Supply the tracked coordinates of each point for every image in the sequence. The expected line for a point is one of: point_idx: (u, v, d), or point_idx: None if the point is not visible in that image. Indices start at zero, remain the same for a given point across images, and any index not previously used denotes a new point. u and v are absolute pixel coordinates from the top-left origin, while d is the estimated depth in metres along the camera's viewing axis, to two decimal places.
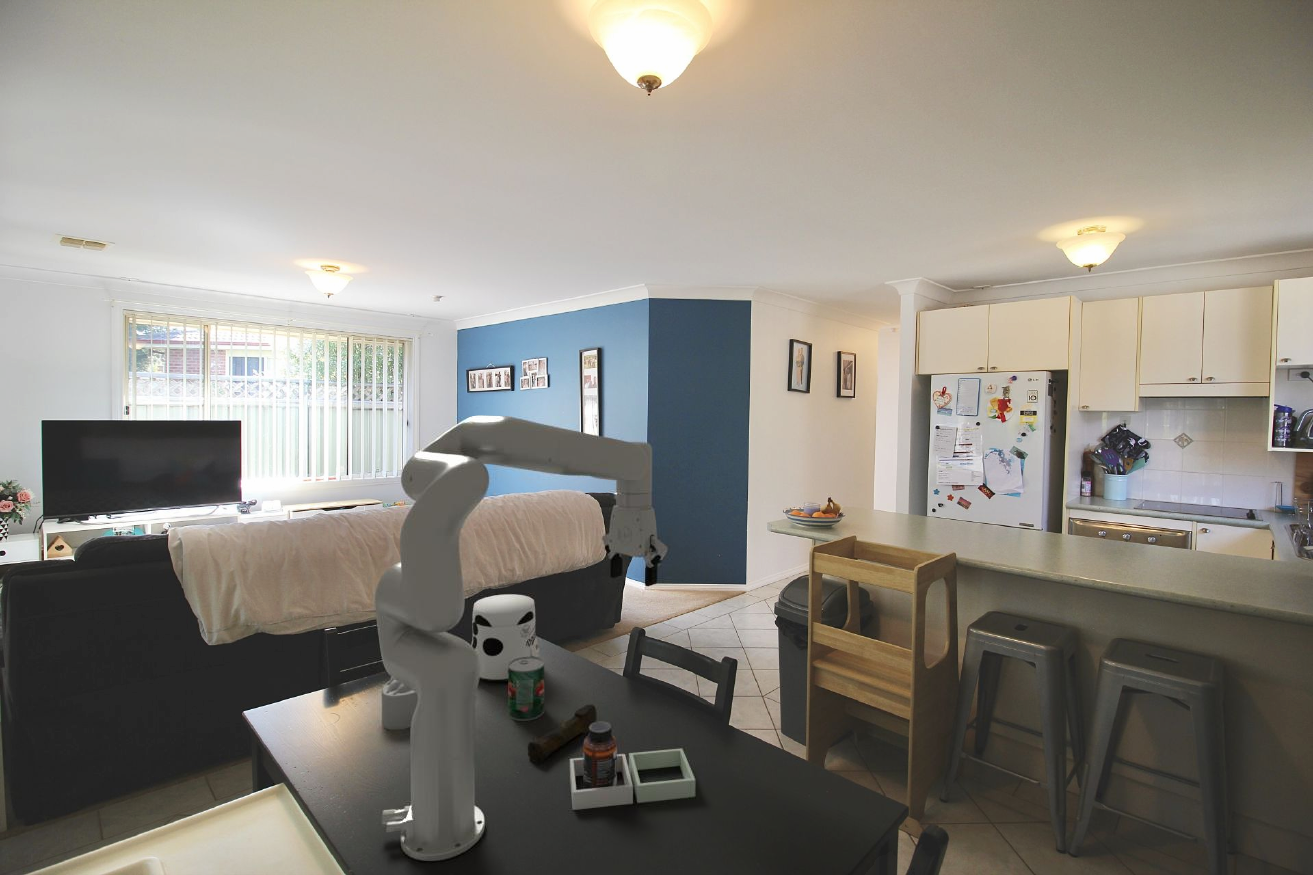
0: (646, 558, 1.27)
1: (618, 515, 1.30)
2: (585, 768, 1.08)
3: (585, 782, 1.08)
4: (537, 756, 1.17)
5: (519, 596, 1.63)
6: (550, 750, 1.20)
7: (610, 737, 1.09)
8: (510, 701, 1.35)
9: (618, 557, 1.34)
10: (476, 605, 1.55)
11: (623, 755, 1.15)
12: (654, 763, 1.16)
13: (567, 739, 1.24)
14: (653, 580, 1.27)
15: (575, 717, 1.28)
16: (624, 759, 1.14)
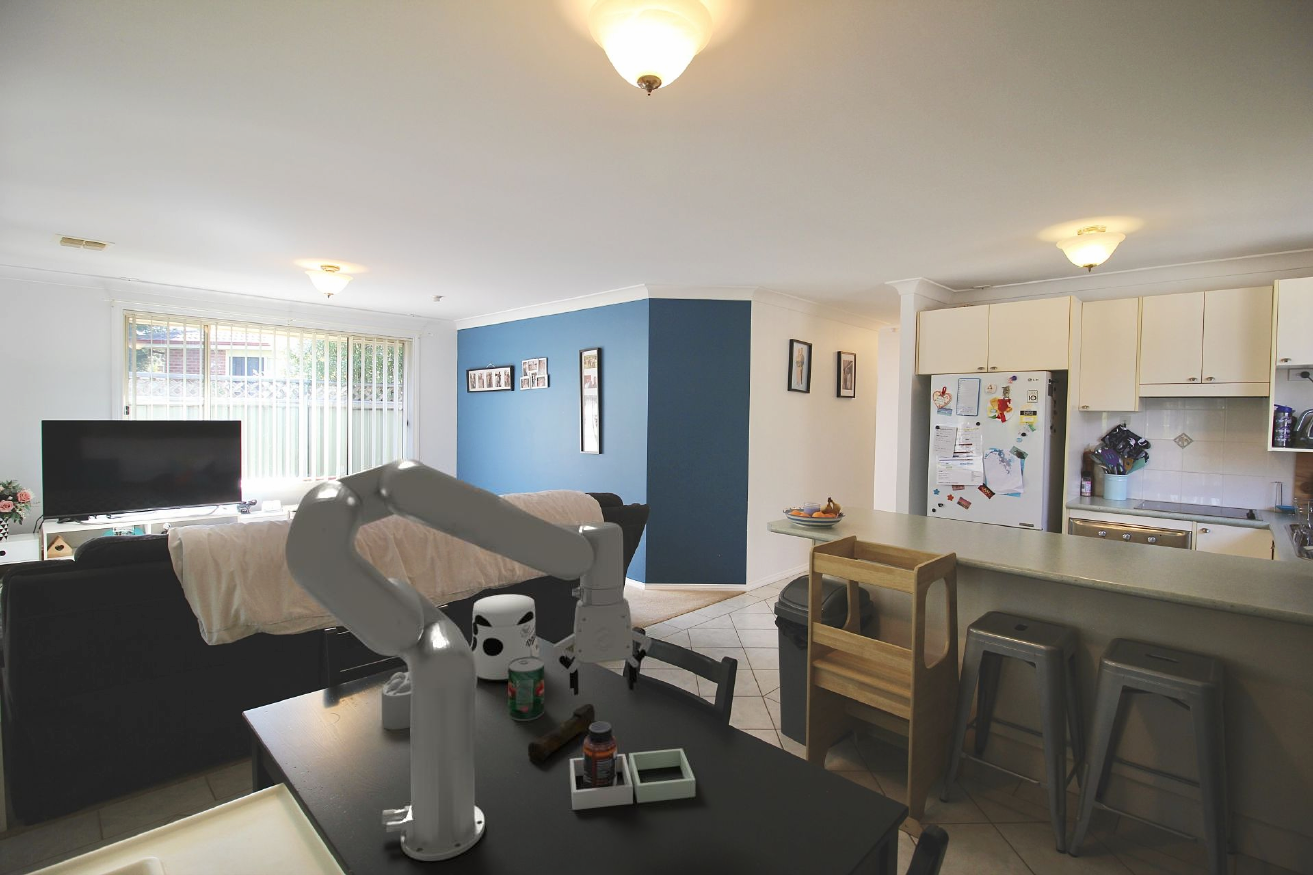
0: (630, 658, 1.09)
1: (593, 616, 1.06)
2: (585, 768, 1.08)
3: (585, 782, 1.08)
4: (538, 757, 1.17)
5: (519, 596, 1.63)
6: (550, 750, 1.20)
7: (610, 737, 1.09)
8: (510, 701, 1.35)
9: None
10: (476, 605, 1.55)
11: (623, 755, 1.15)
12: (654, 763, 1.16)
13: (567, 739, 1.24)
14: None
15: (574, 717, 1.28)
16: (624, 759, 1.14)
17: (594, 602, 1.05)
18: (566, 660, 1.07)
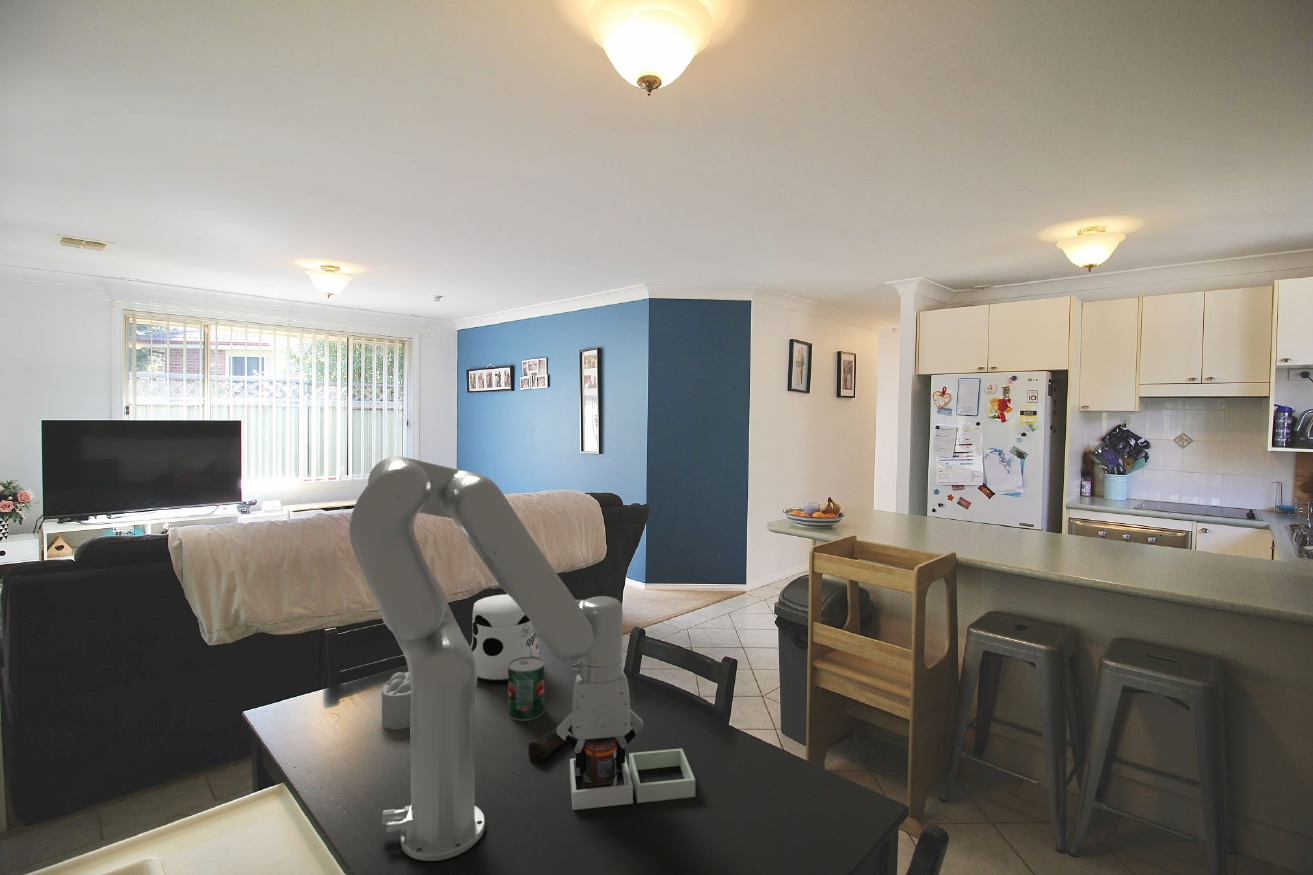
0: (621, 738, 1.09)
1: (592, 693, 1.06)
2: (585, 768, 1.08)
3: (585, 782, 1.08)
4: (538, 756, 1.17)
5: None
6: (551, 750, 1.20)
7: None
8: (510, 701, 1.35)
9: (582, 746, 1.09)
10: (476, 605, 1.55)
11: None
12: (654, 763, 1.16)
13: None
14: (624, 761, 1.10)
15: None
16: None
17: (593, 679, 1.05)
18: (572, 740, 1.08)
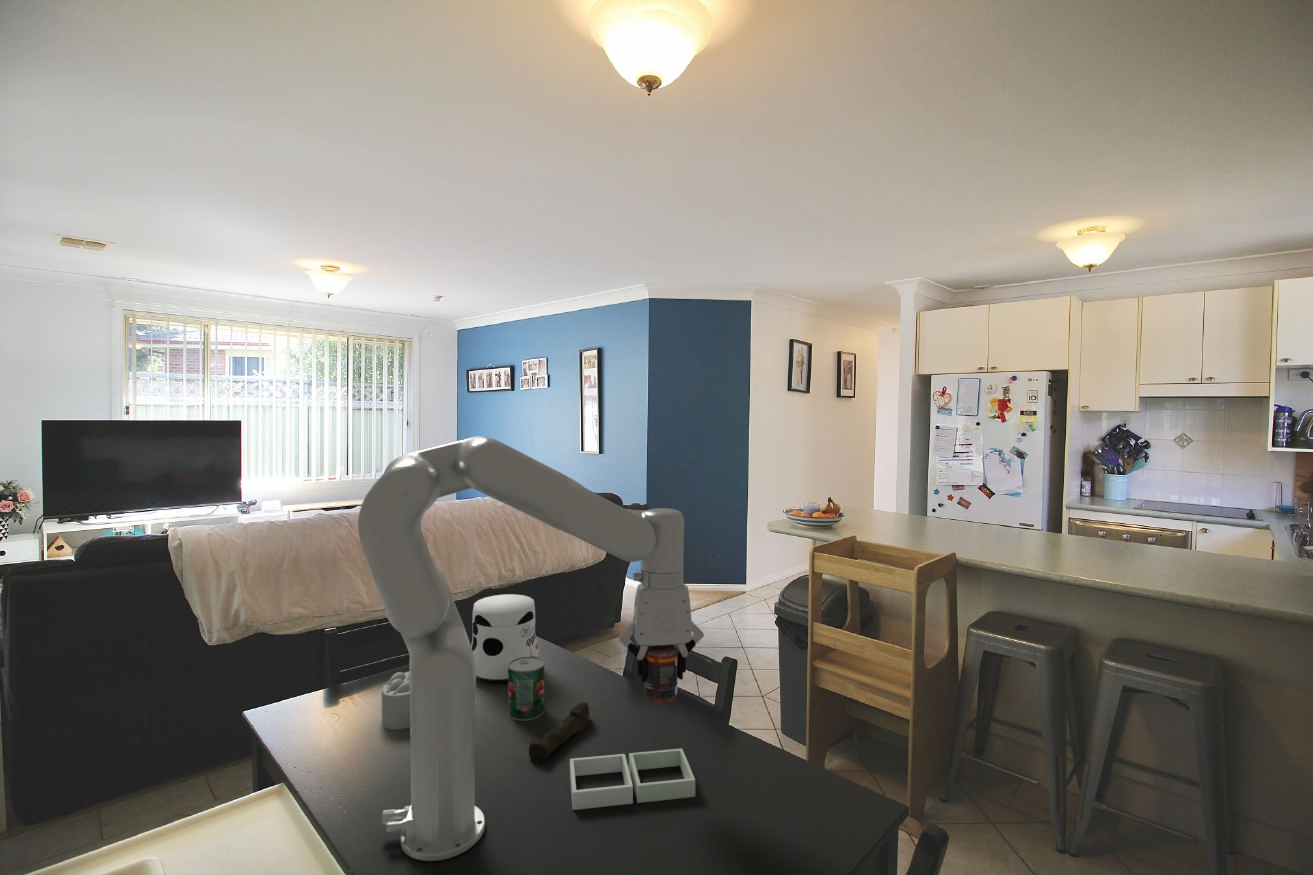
0: (682, 646, 1.10)
1: (655, 600, 1.07)
2: (647, 675, 1.09)
3: (647, 689, 1.09)
4: (540, 757, 1.17)
5: (519, 596, 1.63)
6: (551, 750, 1.20)
7: (671, 646, 1.10)
8: (510, 701, 1.35)
9: None
10: (475, 605, 1.55)
11: (623, 755, 1.15)
12: (654, 763, 1.16)
13: (565, 738, 1.24)
14: None
15: (571, 716, 1.29)
16: (624, 759, 1.14)
17: (656, 586, 1.07)
18: (635, 648, 1.09)
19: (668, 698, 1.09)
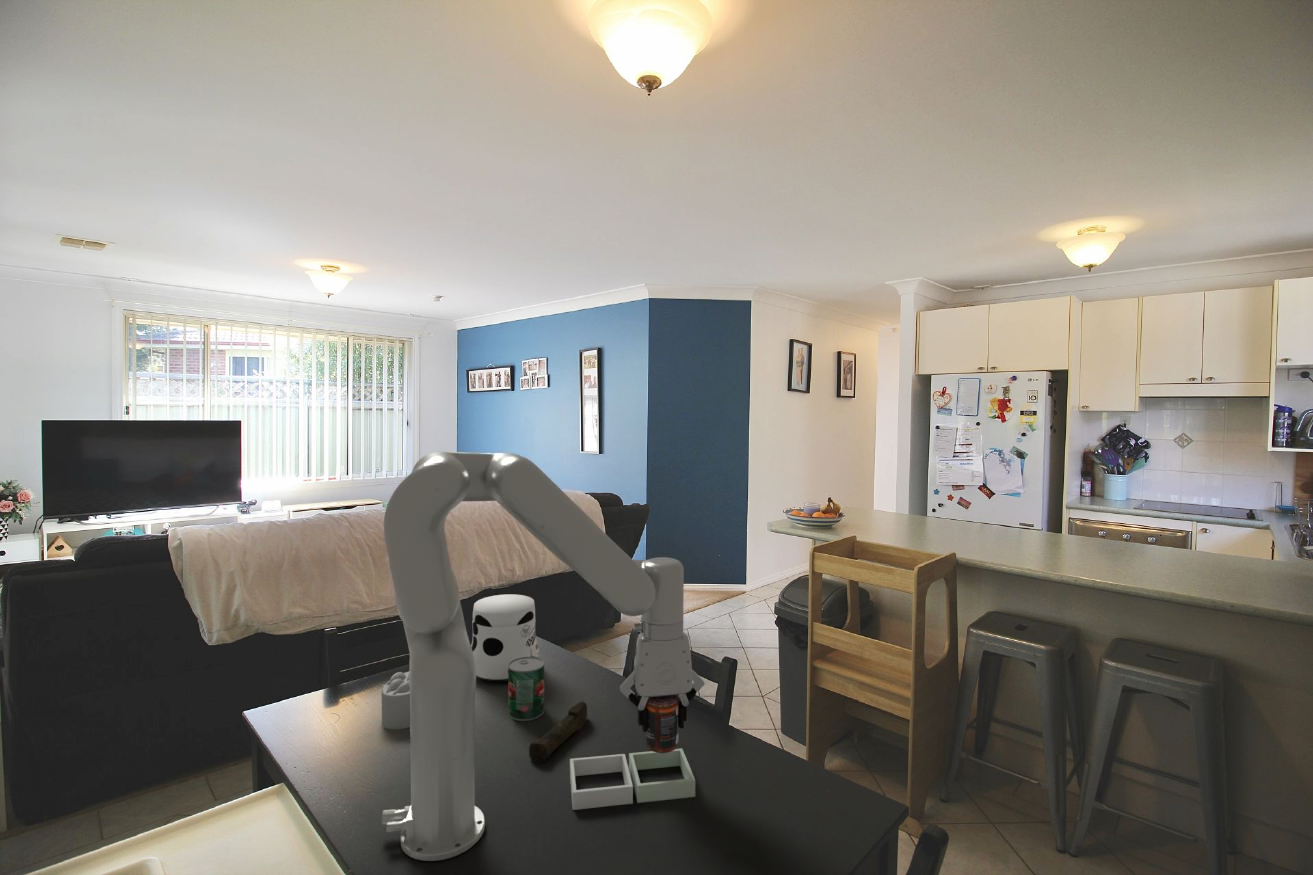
0: (683, 695, 1.11)
1: (655, 651, 1.08)
2: (648, 725, 1.10)
3: (648, 739, 1.10)
4: (540, 757, 1.17)
5: (519, 596, 1.63)
6: (551, 749, 1.20)
7: (672, 695, 1.11)
8: (510, 701, 1.35)
9: None
10: (476, 605, 1.55)
11: (623, 755, 1.15)
12: (654, 763, 1.16)
13: (565, 737, 1.24)
14: None
15: (569, 715, 1.29)
16: (624, 759, 1.14)
17: (656, 637, 1.07)
18: (636, 698, 1.10)
19: (669, 748, 1.09)
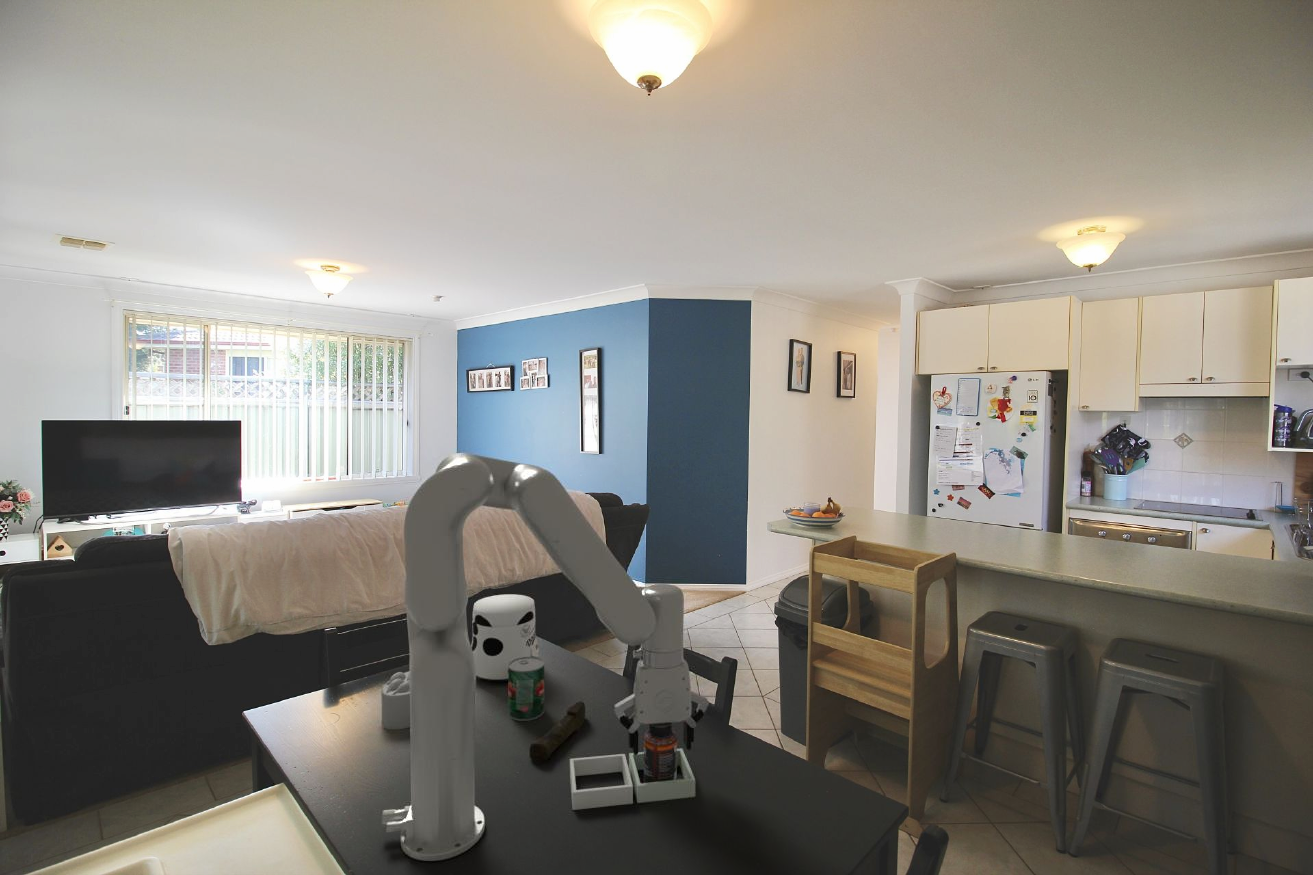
0: (688, 718, 1.11)
1: (655, 678, 1.08)
2: (646, 762, 1.10)
3: (646, 776, 1.10)
4: (541, 757, 1.17)
5: (519, 596, 1.63)
6: (552, 750, 1.20)
7: (670, 732, 1.11)
8: (510, 701, 1.35)
9: None
10: (476, 605, 1.55)
11: (623, 755, 1.15)
12: None
13: (565, 737, 1.24)
14: None
15: (568, 715, 1.29)
16: (624, 759, 1.14)
17: (656, 665, 1.07)
18: (627, 720, 1.09)
19: None
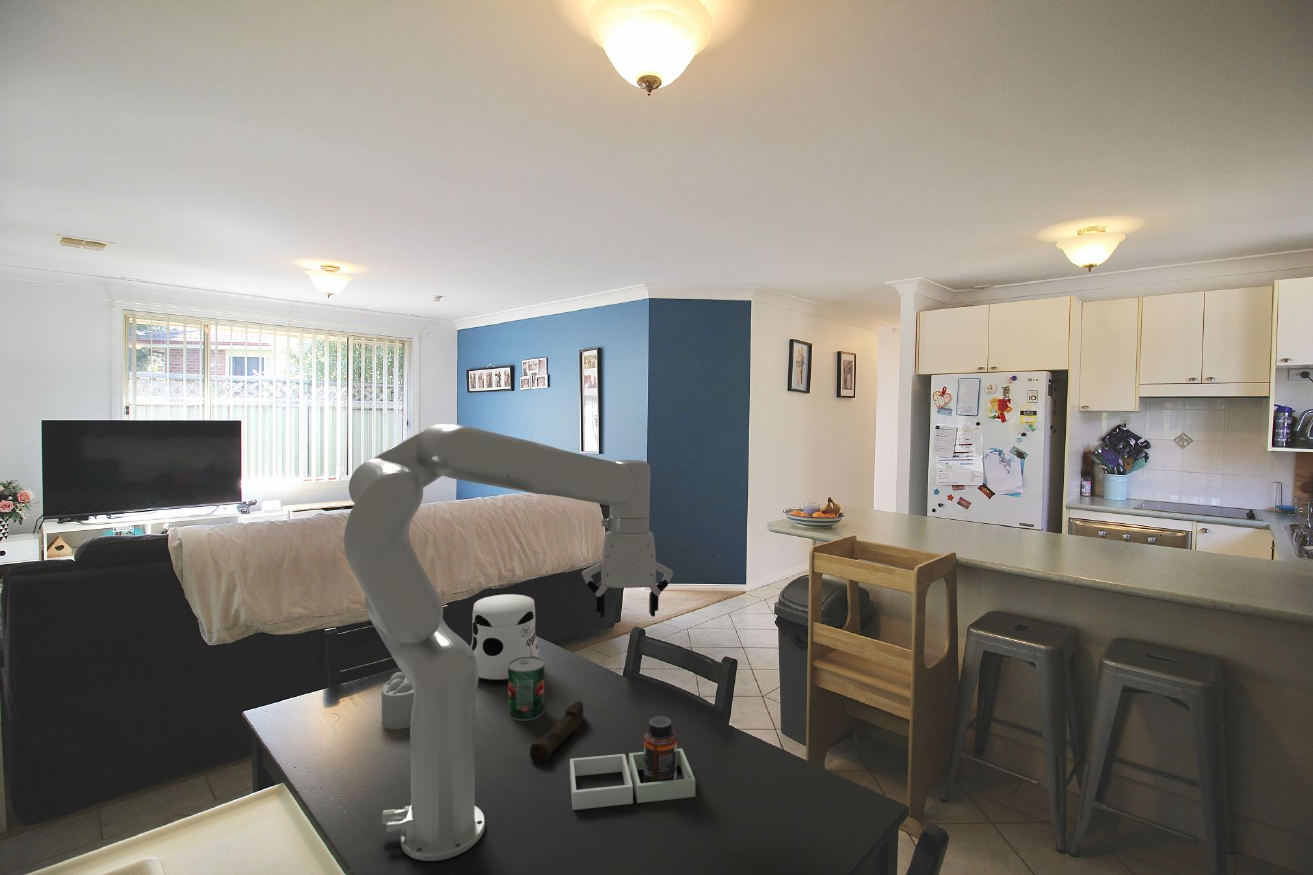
0: (653, 586, 1.17)
1: (620, 544, 1.14)
2: (646, 762, 1.10)
3: (646, 776, 1.10)
4: (542, 757, 1.17)
5: (519, 596, 1.63)
6: (552, 750, 1.20)
7: (670, 732, 1.11)
8: (510, 701, 1.35)
9: (602, 593, 1.17)
10: (476, 605, 1.55)
11: (623, 755, 1.15)
12: None
13: (564, 737, 1.25)
14: (657, 608, 1.18)
15: (567, 715, 1.29)
16: (624, 759, 1.14)
17: (622, 530, 1.13)
18: (594, 585, 1.16)
19: None
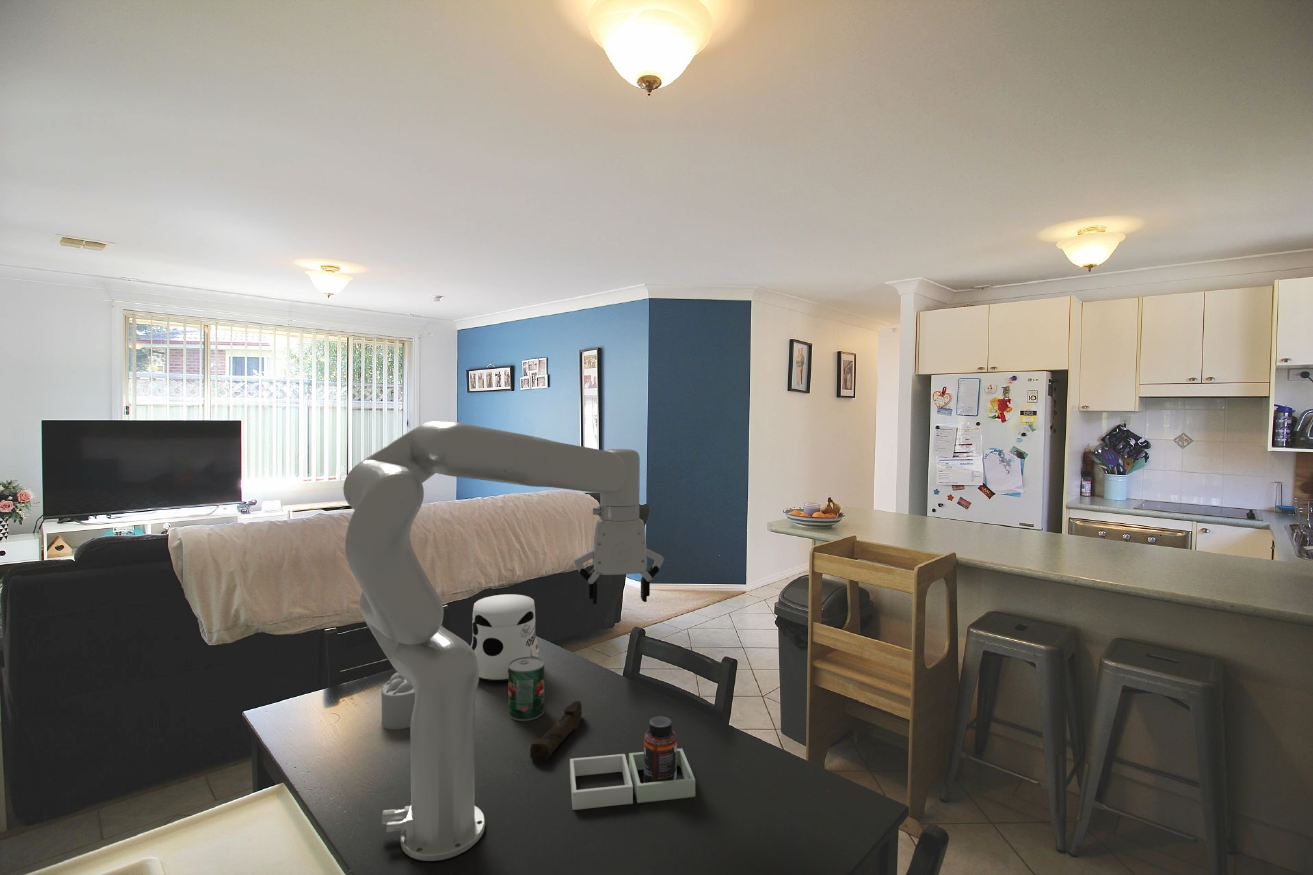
0: (644, 572, 1.19)
1: (612, 532, 1.16)
2: (646, 762, 1.10)
3: (646, 776, 1.10)
4: (542, 757, 1.17)
5: (519, 596, 1.63)
6: (552, 749, 1.20)
7: (670, 732, 1.11)
8: (510, 701, 1.35)
9: None
10: (476, 605, 1.55)
11: (623, 755, 1.15)
12: None
13: (564, 737, 1.25)
14: None
15: (566, 715, 1.29)
16: (624, 759, 1.14)
17: (613, 518, 1.15)
18: (586, 572, 1.18)
19: None
